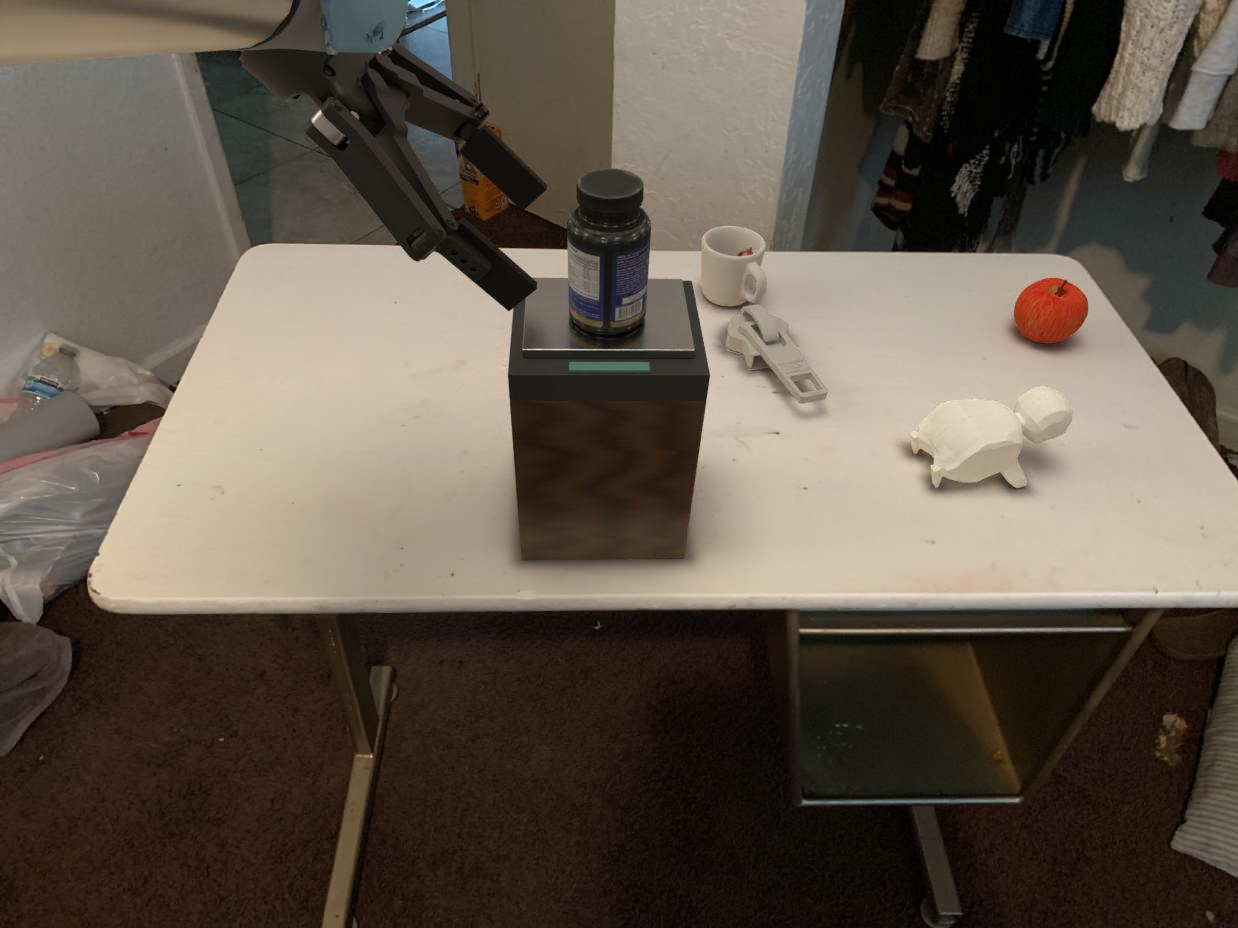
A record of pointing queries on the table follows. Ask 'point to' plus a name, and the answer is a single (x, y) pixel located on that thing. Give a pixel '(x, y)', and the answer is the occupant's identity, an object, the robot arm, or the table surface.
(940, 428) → the white turtle figurine
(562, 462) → the stand
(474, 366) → the table surface
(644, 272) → the pill bottle
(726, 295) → the cup
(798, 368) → the zipper pull
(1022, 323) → the apple
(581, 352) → the scale
